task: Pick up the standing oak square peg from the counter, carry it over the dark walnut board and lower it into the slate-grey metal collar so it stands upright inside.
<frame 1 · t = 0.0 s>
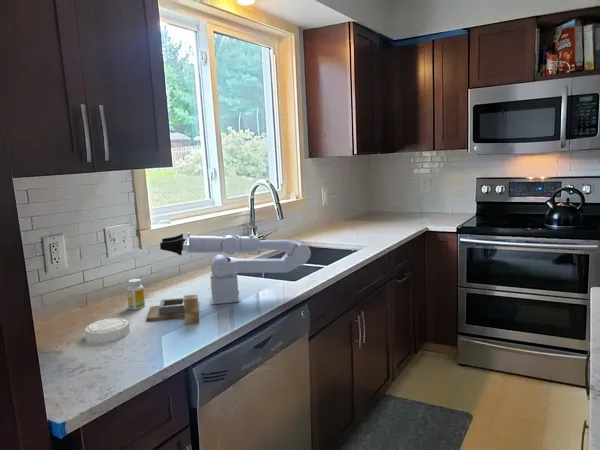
hand: (161, 243, 156), 22 cm above the worktop, tool horizontal, fingers open, 7 cm apart
mooncake: (108, 336, 135), on the worktop
socket board: (174, 312, 152), on the worktop
supplement bottle: (136, 307, 159), on the worktop
peg: (192, 322, 143), on the worktop
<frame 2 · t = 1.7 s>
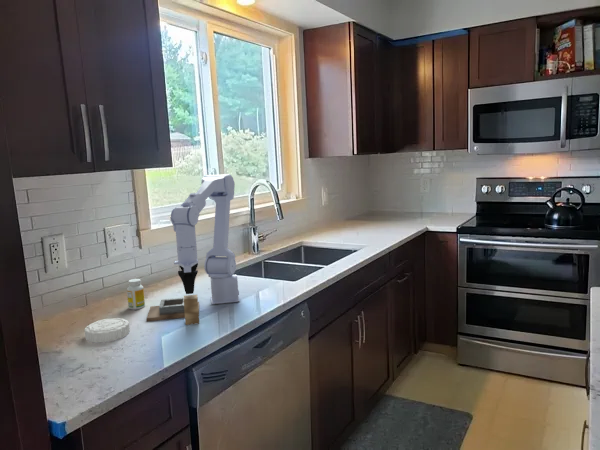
hand: (190, 290, 141), 10 cm above the worktop, tool pointing down, fingers open, 7 cm apart
nothing on the worktop moved.
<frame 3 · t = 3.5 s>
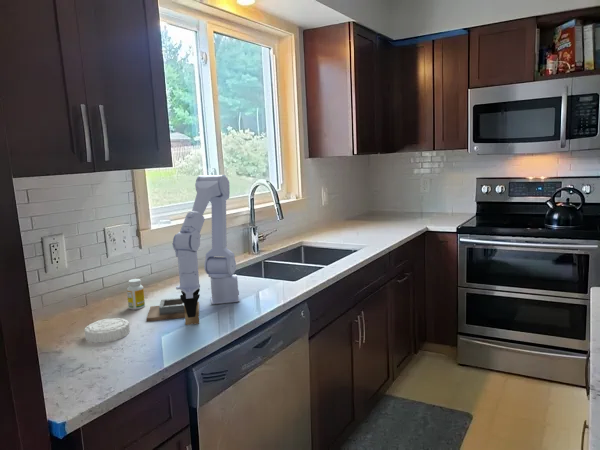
hand: (191, 314, 142), 2 cm above the worktop, tool pointing down, fingers closed on peg, 4 cm apart
peg: (192, 322, 143), on the worktop, touching gripper
everything else where it was.
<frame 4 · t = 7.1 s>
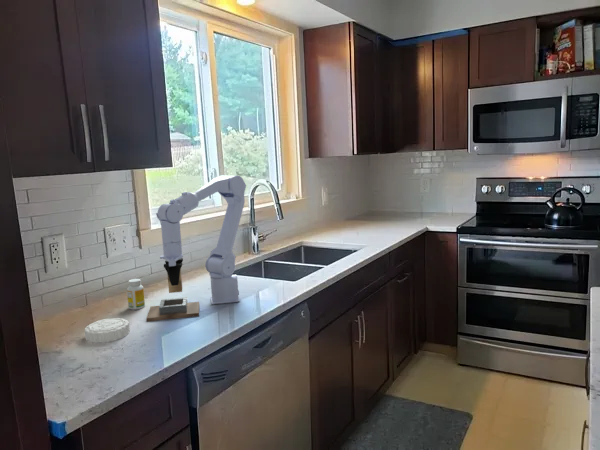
hand: (175, 283, 149), 10 cm above the worktop, tool pointing down, fingers closed on peg, 4 cm apart
peg: (175, 290, 149), point 8 cm above the worktop, touching gripper
everything else where it was.
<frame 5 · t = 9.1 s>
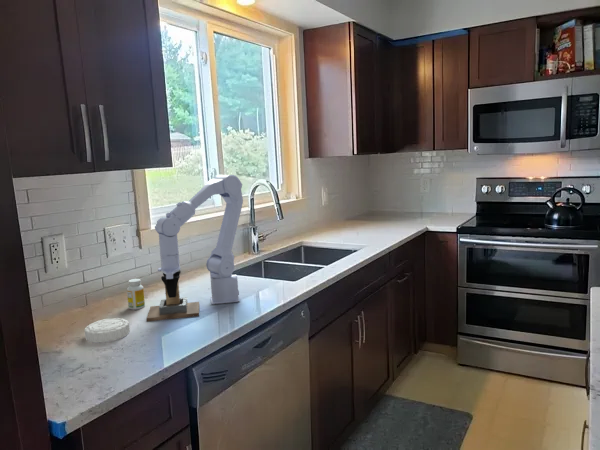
hand: (172, 295, 151), 6 cm above the worktop, tool pointing down, fingers closed on peg, 4 cm apart
peg: (173, 302, 151), point 3 cm above the worktop, touching gripper
everything else where it was.
when the fingers open (4 cm above the worktop, at t = 10.8 s): peg stays where it is, resting on socket board.
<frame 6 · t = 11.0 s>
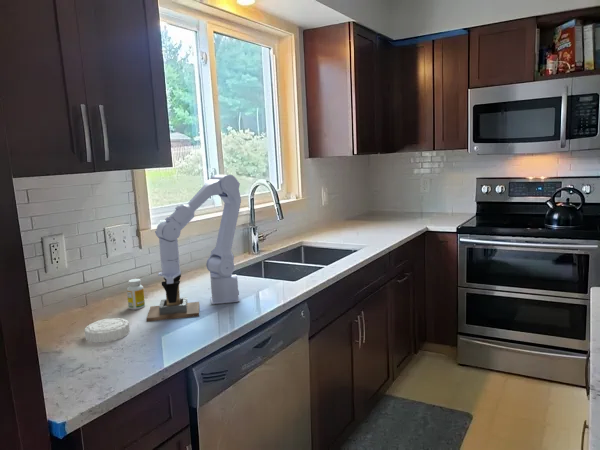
hand: (173, 299, 151), 4 cm above the worktop, tool pointing down, fingers open, 6 cm apart
peg: (174, 309, 152), point 1 cm above the worktop, touching socket board
everything else where it was.
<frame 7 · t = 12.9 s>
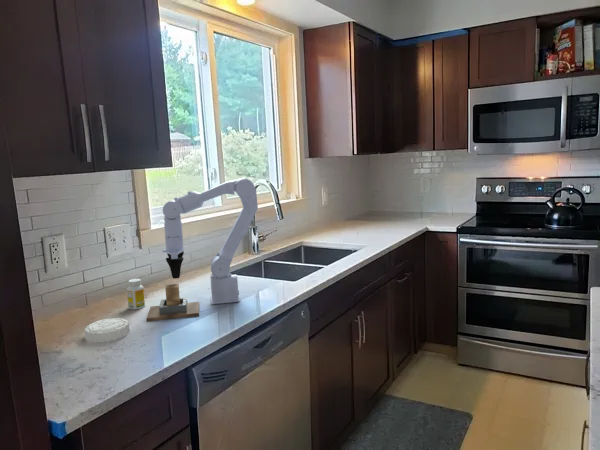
hand: (176, 275, 159), 10 cm above the worktop, tool pointing down, fingers open, 7 cm apart
nothing on the worktop moved.
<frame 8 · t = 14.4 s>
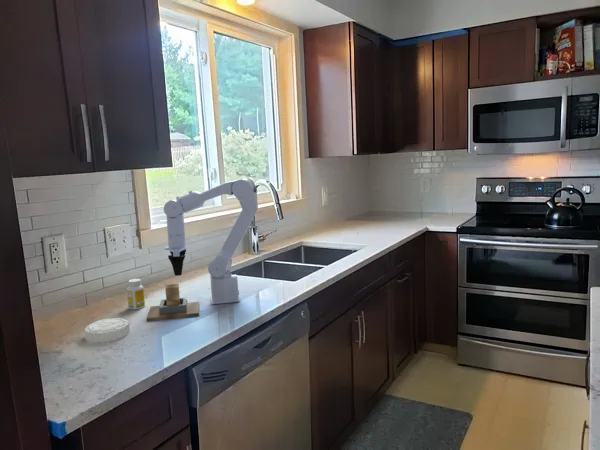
hand: (178, 272, 162), 10 cm above the worktop, tool pointing down, fingers open, 7 cm apart
nothing on the worktop moved.
at the end: peg 0.0 cm from the socket board (horizontally); peg tilted 0°; the gripper is holding nothing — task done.
